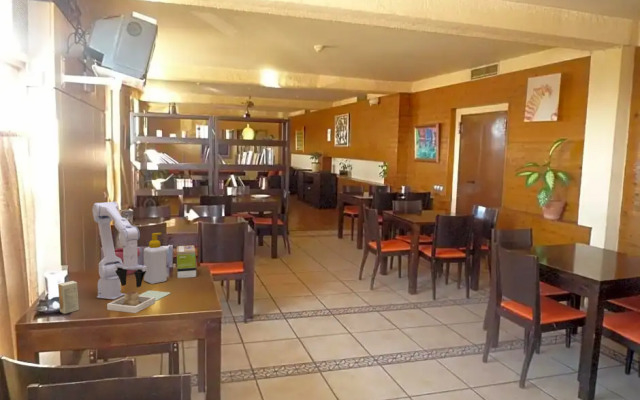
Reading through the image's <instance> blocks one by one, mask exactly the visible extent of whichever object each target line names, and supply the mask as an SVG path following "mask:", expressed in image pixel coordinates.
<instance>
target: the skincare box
mask: <svg viewBox="0 0 640 400" xmlns="http://www.w3.org/2000/svg"><path fill="white" fill-rule="evenodd" d="M57 285H58V286H57V289H58V302H59V303H58V304H59V312H60V313H62V314H64V315H65V314H69V313H72V312H76V311H79V310H80V308H79V306H80V305H79V293H78V291H79V290H78V282H77V281H74V280H70V281H64V282H61V283H58V284H57Z"/></svg>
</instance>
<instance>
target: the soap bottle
mask: <svg viewBox="0 0 640 400" xmlns="http://www.w3.org/2000/svg"><path fill="white" fill-rule="evenodd" d="M160 235H162V232H153V233H151V240H149V242H148V247H145V248H143V266H147V270H146V273H145V275H144V277H143V281H144V282H147V283H148V284H152V285H153V284H160V283H163V282H167V280H168V279H167V277H168V276H167V274H168V273H167V250H166V247H163V246H161V241H160V240H158V236H160Z"/></svg>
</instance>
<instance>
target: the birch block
mask: <svg viewBox="0 0 640 400" xmlns="http://www.w3.org/2000/svg"><path fill="white" fill-rule="evenodd" d="M138 295H139V291H132V290H131V291H128V292H125V295H124V296H125V303H124V305H127V306H137V305H139V304H140V302H139V297H138Z"/></svg>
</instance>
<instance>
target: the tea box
mask: <svg viewBox="0 0 640 400" xmlns="http://www.w3.org/2000/svg"><path fill="white" fill-rule="evenodd" d="M176 270H177V271H176V273H177V278H178V279H185V278H196V277H197V254H196V248H195V245H193V244H192V245H179V246H177V245H176Z"/></svg>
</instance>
